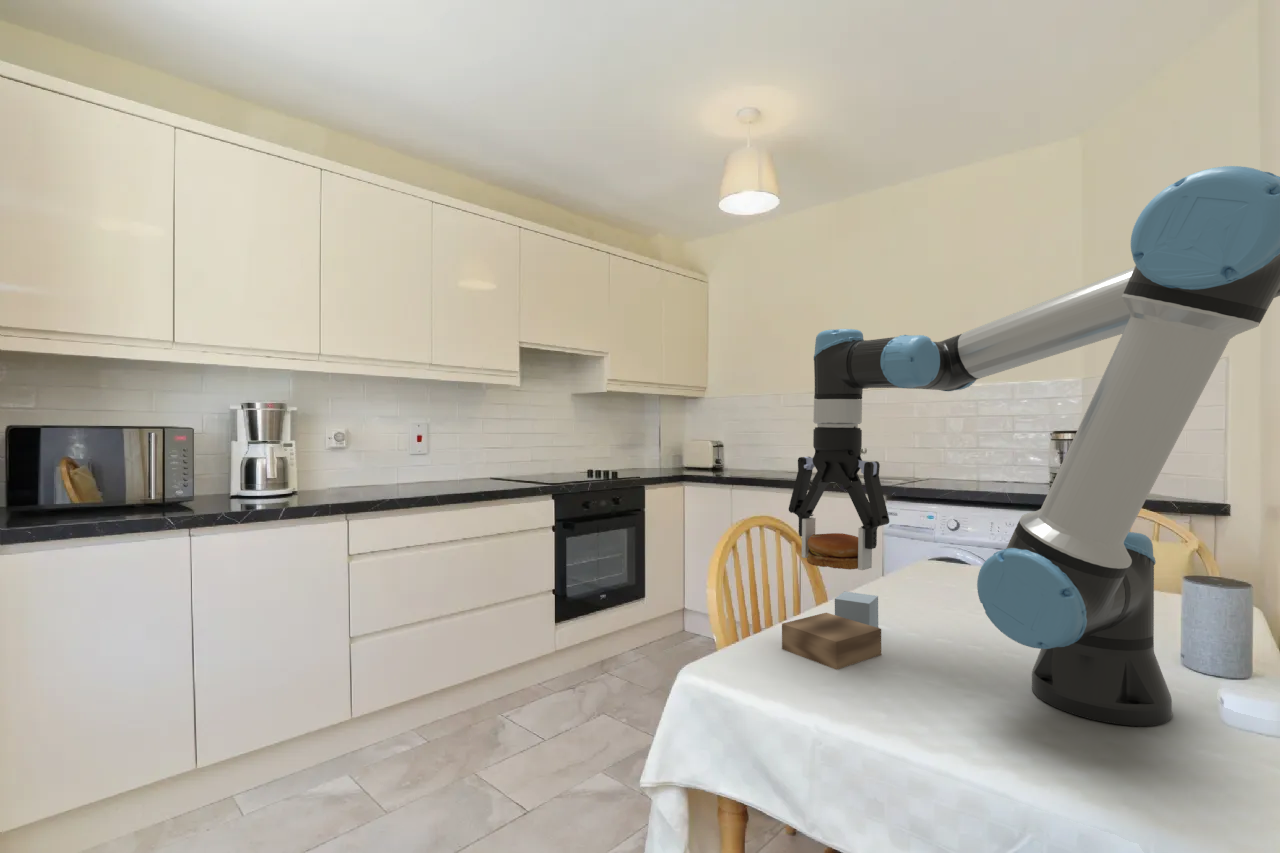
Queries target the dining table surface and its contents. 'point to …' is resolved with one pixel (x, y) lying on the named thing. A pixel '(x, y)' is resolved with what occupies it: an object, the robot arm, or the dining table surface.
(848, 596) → the slate cube
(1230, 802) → the dining table surface
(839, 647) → the walnut block
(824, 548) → the burger
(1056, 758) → the dining table surface
